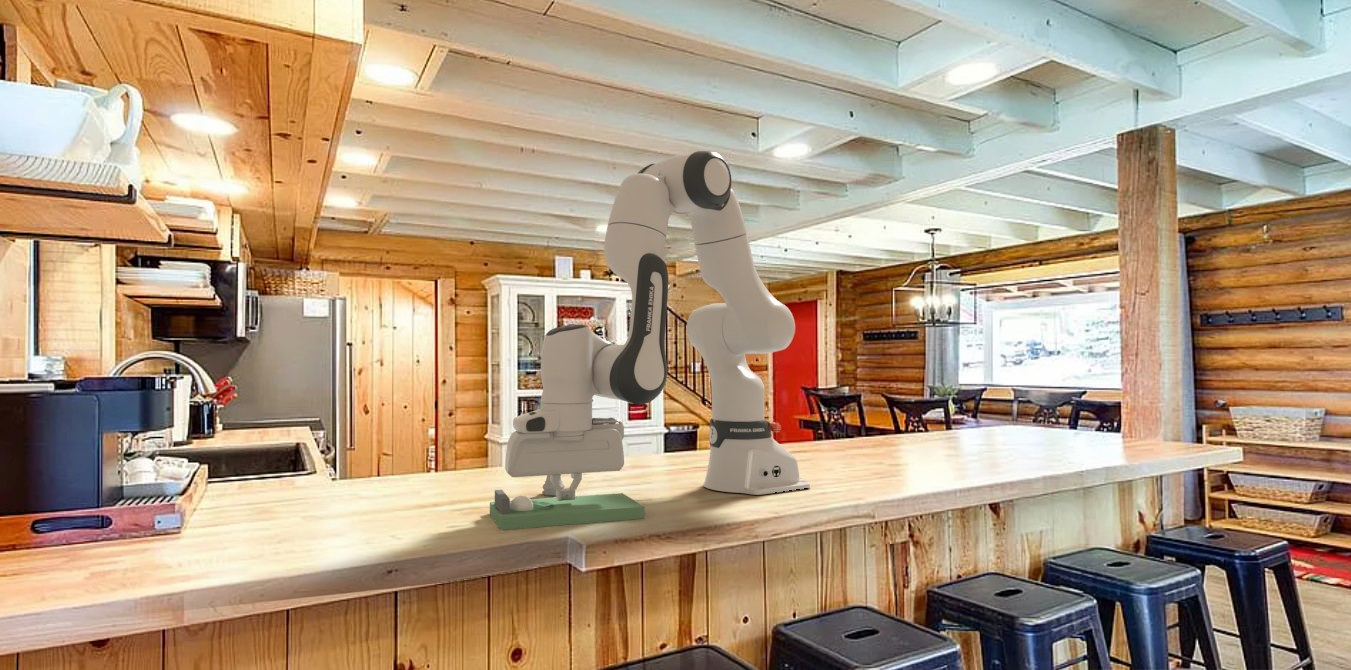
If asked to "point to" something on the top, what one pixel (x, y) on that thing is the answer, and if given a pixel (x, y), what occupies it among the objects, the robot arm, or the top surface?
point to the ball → (521, 503)
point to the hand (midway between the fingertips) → (565, 499)
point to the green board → (565, 511)
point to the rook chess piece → (551, 487)
